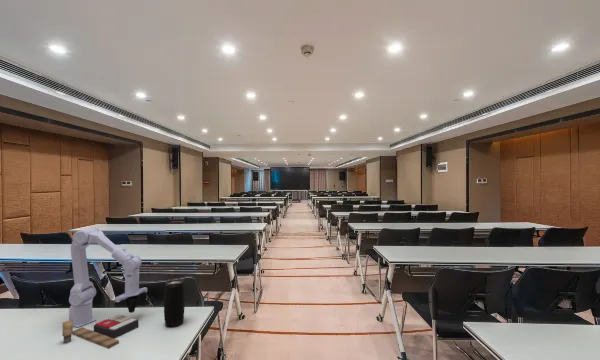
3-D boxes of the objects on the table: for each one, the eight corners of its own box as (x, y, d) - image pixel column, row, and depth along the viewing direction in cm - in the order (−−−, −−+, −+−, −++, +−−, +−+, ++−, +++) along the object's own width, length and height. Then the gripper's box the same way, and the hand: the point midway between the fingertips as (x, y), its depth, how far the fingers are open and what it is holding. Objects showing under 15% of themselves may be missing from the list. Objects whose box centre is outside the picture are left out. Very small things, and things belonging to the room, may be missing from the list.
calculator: (118, 313, 132) (138, 317, 125) (118, 322, 131) (139, 327, 125) (93, 323, 122) (113, 329, 115) (93, 333, 122) (113, 339, 115)
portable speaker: (185, 317, 134) (185, 277, 134) (183, 327, 125) (183, 283, 125) (165, 320, 131) (166, 279, 132) (162, 330, 122) (162, 285, 123)
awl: (60, 342, 113) (60, 322, 113) (69, 338, 115) (70, 319, 116) (64, 344, 111) (65, 324, 111) (74, 340, 114) (74, 321, 114)
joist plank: (72, 334, 119) (72, 331, 119) (82, 329, 123) (82, 327, 123) (108, 348, 108) (108, 345, 108) (118, 343, 112) (118, 340, 112)
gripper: (122, 289, 123) (121, 320, 123) (151, 279, 136) (151, 307, 136) (112, 287, 126) (111, 317, 126) (142, 277, 139) (141, 304, 139)
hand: (131, 311), depth 131 cm, fingers closed
